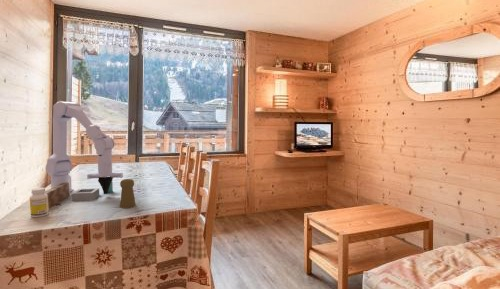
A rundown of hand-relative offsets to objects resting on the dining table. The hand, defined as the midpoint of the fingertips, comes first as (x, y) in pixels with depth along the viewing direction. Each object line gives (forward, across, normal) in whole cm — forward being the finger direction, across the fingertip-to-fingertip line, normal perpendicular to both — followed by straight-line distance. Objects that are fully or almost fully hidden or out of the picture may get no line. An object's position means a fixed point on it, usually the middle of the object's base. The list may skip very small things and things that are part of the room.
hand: (106, 193), depth 133 cm
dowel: (+1, -1, +9) cm, 9 cm away
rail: (+1, -19, -5) cm, 19 cm away
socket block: (+2, -8, 0) cm, 8 cm away
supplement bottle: (+2, -16, -24) cm, 29 cm away
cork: (+2, +13, -18) cm, 22 cm away
